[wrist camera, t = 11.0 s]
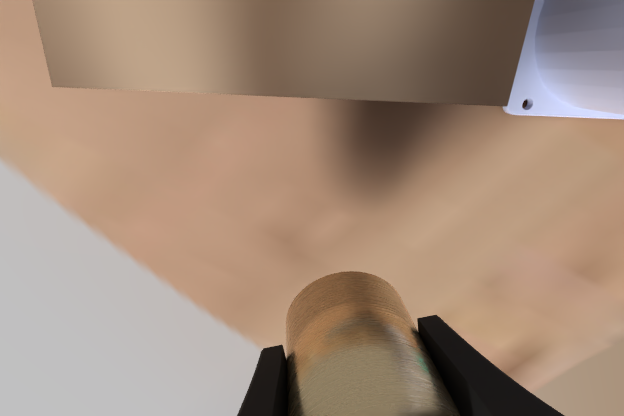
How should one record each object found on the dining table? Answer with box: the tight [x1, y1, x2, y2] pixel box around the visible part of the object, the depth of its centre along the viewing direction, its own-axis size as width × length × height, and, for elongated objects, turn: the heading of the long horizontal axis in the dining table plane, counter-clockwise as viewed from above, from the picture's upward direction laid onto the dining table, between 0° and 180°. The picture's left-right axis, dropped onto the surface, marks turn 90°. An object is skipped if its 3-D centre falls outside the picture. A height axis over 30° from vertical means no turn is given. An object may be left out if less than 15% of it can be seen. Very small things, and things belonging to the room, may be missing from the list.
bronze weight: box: [286, 271, 461, 416], centre depth 10 cm, size 4×4×5 cm
